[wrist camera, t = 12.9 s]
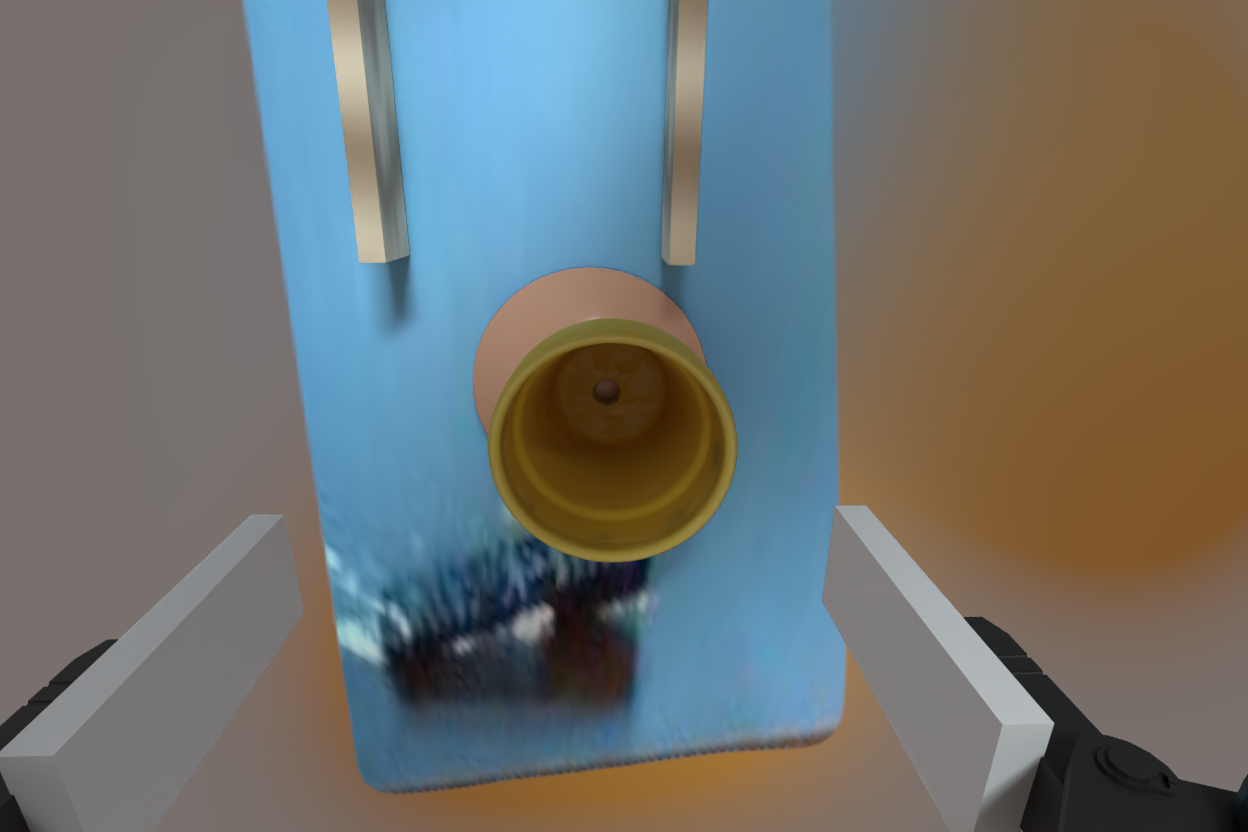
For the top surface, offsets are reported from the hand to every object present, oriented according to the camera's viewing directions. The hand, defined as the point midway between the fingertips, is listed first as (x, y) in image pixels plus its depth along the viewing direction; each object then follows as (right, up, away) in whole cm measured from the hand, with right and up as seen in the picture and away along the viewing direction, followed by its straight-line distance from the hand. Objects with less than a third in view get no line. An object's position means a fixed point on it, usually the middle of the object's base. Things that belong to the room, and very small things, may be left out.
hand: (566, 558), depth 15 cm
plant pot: (+1, +5, +20) cm, 20 cm away
